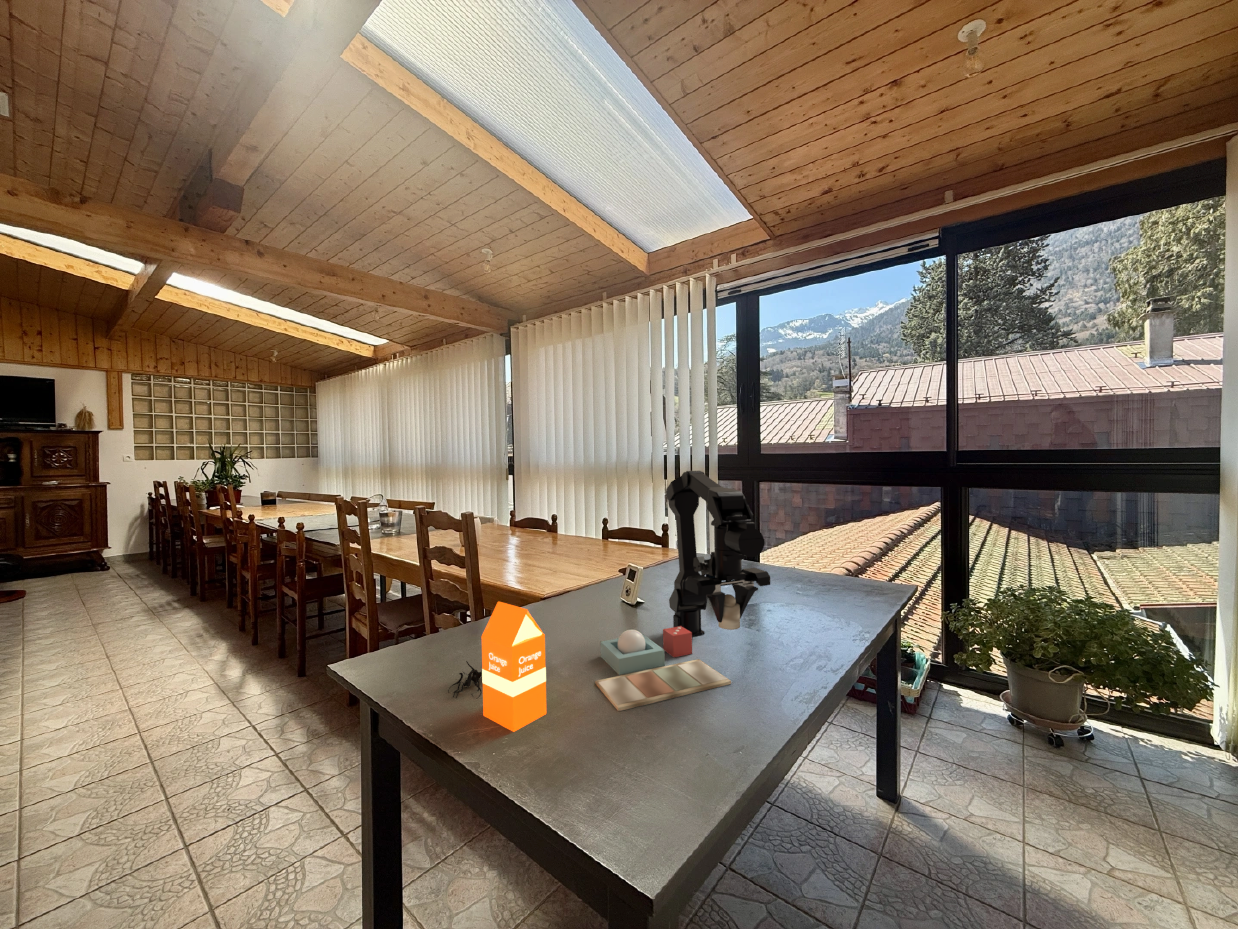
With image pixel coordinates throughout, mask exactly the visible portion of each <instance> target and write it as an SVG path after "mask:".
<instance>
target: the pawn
mask: <svg viewBox="0 0 1238 929" xmlns="http://www.w3.org/2000/svg"><path fill="white" fill-rule="evenodd" d="M717 623H718V625H717V626H718V628H720V629H723V630H727V631H729V630H730V631H732V630H739V629H741V628H740V627H741V619H740V605H739V604H737V603H736V599H735V595H733V594H730V593H727V594H726V593H725V601H724V611H723V619H722V622H718V621H717Z"/></svg>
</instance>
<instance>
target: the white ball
mask: <svg viewBox="0 0 1238 929" xmlns="http://www.w3.org/2000/svg"><path fill="white" fill-rule="evenodd" d="M642 634H643V633H641V632H640V631H638V630H636V629H627V630H625V631H623V632H622V633H621V634H620V636H619V637H618V638H619V639H618V650H619V651H620V652H621V653H622V654H623V655H624V654H629V653H634V652H639V651H644V650H645V646H646V643H645V639H644V637H643V635H644V634H643V635H642Z"/></svg>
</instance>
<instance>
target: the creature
mask: <svg viewBox="0 0 1238 929" xmlns="http://www.w3.org/2000/svg"><path fill="white" fill-rule="evenodd" d="M466 664H467V665H468V667H470V668H471V671H469V673H468V674H467V673H466V672H464V671H462V672H459V673H458V674H459V675H460V678H459V680H458V681H456V682H455V683H453V684H452V685H451V686H449V688H448V690H447V693H448V694H449V693H450V689H451V687H454V686H456V685H458V686H457V688H456V689H455V690H454V692H453V696H452V698H454V696H456V697H455V699H458V696H459V694H460V693H462V692H464V689H467V688H469V687H471V684H472V682H473V684H474V686H475V687H476V688H477V690H476V692H478V691H479V692H480V693H479V695H478V697H476V698H475V699H476V700H477V699H478V698H480V697H481V695H482V694H483V691H482V689H481V687H480V679H481V677H482V671H478V670H477V669H475V668H474V667H472V666H471V665H470V663H469V661H468V660H466ZM465 675H466V676H467V677H465V678H464V679H465V682H463V681H462V680H463V677H464V676H465ZM461 684H462V685H461ZM460 686H461V689H460ZM456 693H457V694H456ZM455 694H456V695H455ZM473 694H474V693H470V695H471V696H472V697H474V695H473Z"/></svg>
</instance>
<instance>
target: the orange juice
mask: <svg viewBox="0 0 1238 929" xmlns="http://www.w3.org/2000/svg"><path fill="white" fill-rule="evenodd" d="M480 638H481V664H482V667H481V670H482V676H481V677H482V680H481V681H482V707H483V709H482V711H483V712H482V714H483V717H485V718H487V719H489V720H491V721H492V722H495V723H496V724H498V725H500V726H501V727H503V728H505V729H507V730H509V731H511V732H513V733H515V732H516V731H518V730H520V729H521V728H524V727H525V726H527V725H529V724H531V723H533V722H534V721H536V720H538V719H540V718H541V717H543V716H545V715H546V714H547V667H546V634H545V633H544V632H543V631H542V629H541V628H540V626H539V625H538V624H537V622H536V621H535V618H533V617H532V615H531V613H530V612H529V609H527V608H524V607H520V606H517V605H513V604H510V603H506V602H504V601H503V602H502V601H497V602H496V605H495V607H494V609H493V611H492V613H491V615H490V618H489V619H488V622H487V624H486V626H485V628H484V630H483V632H482V635H481V637H480Z"/></svg>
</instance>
